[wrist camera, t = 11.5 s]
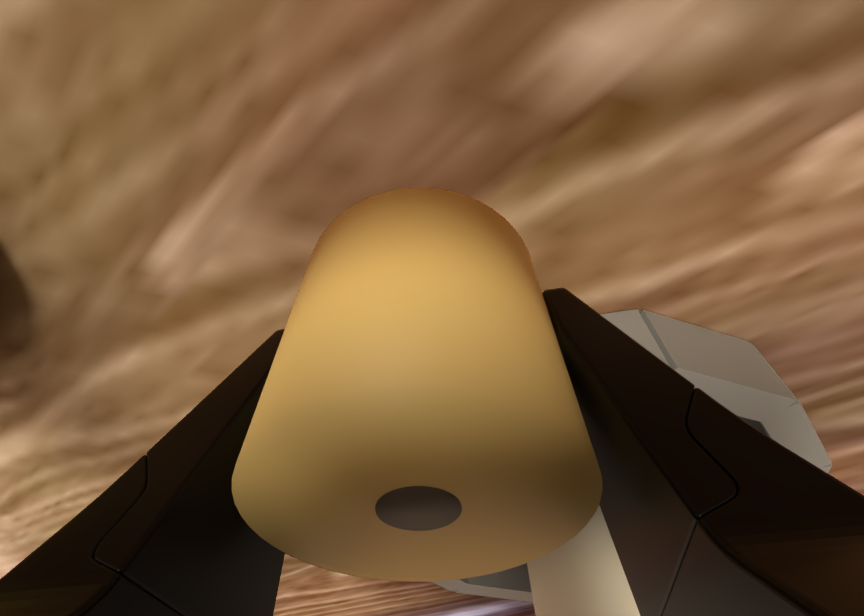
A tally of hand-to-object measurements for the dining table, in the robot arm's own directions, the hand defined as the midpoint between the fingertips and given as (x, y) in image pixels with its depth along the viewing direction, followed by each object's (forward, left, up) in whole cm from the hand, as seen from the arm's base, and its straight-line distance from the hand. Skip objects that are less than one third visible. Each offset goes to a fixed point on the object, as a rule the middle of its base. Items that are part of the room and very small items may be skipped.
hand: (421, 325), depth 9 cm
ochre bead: (0, 0, -1) cm, 1 cm away
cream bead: (-4, +16, -3) cm, 17 cm away
